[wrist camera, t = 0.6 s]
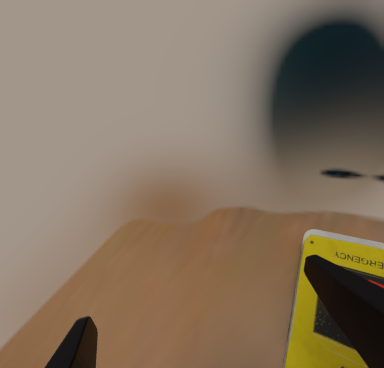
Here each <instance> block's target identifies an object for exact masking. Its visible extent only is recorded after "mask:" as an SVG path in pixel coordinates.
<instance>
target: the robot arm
mask: <svg viewBox="0 0 384 368" xmlns="http://www.w3.org/2000/svg"><path fill="white" fill-rule="evenodd" d="M304 274H305V276H306V277H307V279H308V281H309V282H310V284H311V286H312V287H313V289H314V290H315V292H316V294H317V295H318V297H319V299H320V300H321V302H322V304H323V305H324V307H325V308H326V310H327V311H328V313H329V314H330V316H331V317H332V318H333V320H334V321H335V322H336V324H337V325H338V327H339V328H340V329H341V331H342V332H343V333H344V335H345V336H346V337H347V339H348V340H349V341H350V343H351V344H352V346H353V347H354V348H355V350H356V351H357V352H358V354H359V355H360V356H361V358H362V359H363V361H364V362H365V363H366V365H367V366H368V367H369V368H384V288H383V287H381V286H379V285H377V284H375V283H373V282H371V281H369V280H367V279H365V278H363V277H361V276H359V275H357V274H355V273H352V272H350V271H348V270H346V269H344V268H342V267H340V266H338V265H336V264H334V263H332V262H330V261H328V260H326V259H324V258H322V257H320V256H318V255H315V254H314V255H310V256H307V257H306V258H305V264H304ZM97 337H98V332H97V328H96V326H95V324H94V322H93V320H92V319H91V317H89V316H86V317H83V318H79V319H78V320H77V321H76V322H75V323H74V325H73V326H72V328H71V329H70V331H69V332H68V334H67V335H66V337H65V338H64V340H63V341H62V343H61V344H60V346H59V347H58V349H57V350H56V352H55V353H54V354H53V356H52V357H51V359H50V360H49V362H48V363H47V365H46V366H45V368H96V353H97Z"/></svg>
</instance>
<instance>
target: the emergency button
mask: <svg viewBox="0 0 384 368" xmlns="http://www.w3.org/2000/svg"><path fill="white" fill-rule="evenodd" d="M314 254H315V255H318V256H320V257H322V258H324V259H326V260H328V261H330V262H332V263H334V264H336V265H338V266H340V267H342V268H344V269H346V270H348V271H350V272H352V273H355V274H357V275H359V276H361V277H363V278H365V279H367V280H369V281H371V282H373V283H375V284H377V285H379V286H381V287H383V288H384V243H380V242H376V241H371V240H366V239H361V238H356V237H351V236H346V235H341V234H336V233H331V232H326V231H321V230H316V229H312V230H309V231H307V232H306V233H305V235H304V237H303V243H302V249H301V255H300V262H299V268H298V274H297V280H296V287H295V293H294V299H293V305H292V312H291V318H290V324H289V330H288V337H287V343H286V349H285V355H284V362H283V368H369V367H368V366H367V365H366V363H365V362H364V361H363V359H362V358H361V356H360V355H359V354H358V352H357V351H356V350H355V348H354V347H353V346H352V344H351V343H350V341H349V340H348V339H347V337H346V336H345V335H344V333H343V332H342V331H341V329H340V328H339V327H338V325H337V324H336V322H335V321H334V320H333V318H332V317H331V316H330V314H329V313H328V311H327V310H326V308H325V307H324V305H323V304H322V302H321V300H320V299H319V297H318V295H317V294H316V292H315V290H314V289H313V287H312V286H311V284H310V282H309V281H308V279H307V277H306V276H305V274H304V264H305V258H306V257H307V256H310V255H314Z"/></svg>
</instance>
